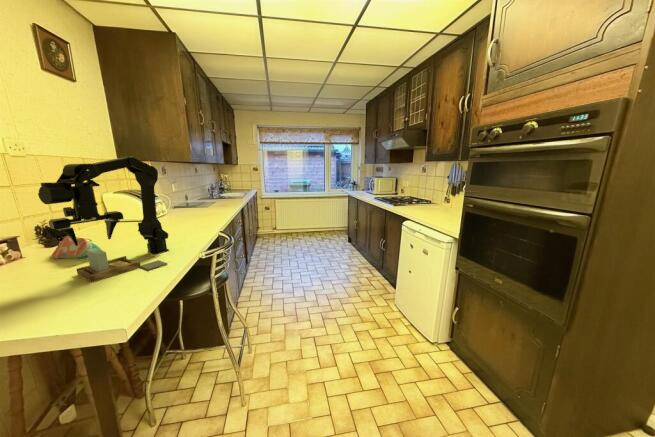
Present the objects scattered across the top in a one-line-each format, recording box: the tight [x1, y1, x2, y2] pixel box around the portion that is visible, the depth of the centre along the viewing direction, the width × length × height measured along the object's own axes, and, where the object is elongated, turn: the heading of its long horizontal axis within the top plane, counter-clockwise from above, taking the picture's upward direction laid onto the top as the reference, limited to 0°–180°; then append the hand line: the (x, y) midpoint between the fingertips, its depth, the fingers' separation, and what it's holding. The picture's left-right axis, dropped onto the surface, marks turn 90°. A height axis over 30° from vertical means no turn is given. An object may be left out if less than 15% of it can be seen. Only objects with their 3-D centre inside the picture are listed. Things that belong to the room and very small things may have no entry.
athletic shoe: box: [51, 235, 102, 260], centre depth 112 cm, size 27×9×12 cm
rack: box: [76, 255, 141, 283], centre depth 95 cm, size 15×12×2 cm
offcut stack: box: [108, 261, 129, 268], centre depth 98 cm, size 5×8×2 cm, turn 60°
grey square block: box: [87, 248, 109, 273], centre depth 92 cm, size 3×9×9 cm, turn 60°
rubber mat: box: [139, 259, 168, 271], centre depth 100 cm, size 7×7×1 cm
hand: (93, 242), depth 91 cm, fingers open, 9 cm apart
